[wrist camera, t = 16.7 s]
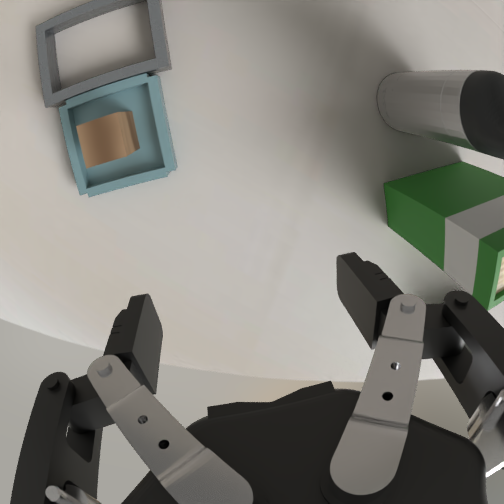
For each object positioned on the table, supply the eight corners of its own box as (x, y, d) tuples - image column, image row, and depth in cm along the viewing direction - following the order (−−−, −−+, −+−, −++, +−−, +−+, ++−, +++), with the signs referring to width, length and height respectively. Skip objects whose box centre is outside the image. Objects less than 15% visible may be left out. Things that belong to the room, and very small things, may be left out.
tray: (159, 72, 33) (155, 70, 31) (178, 170, 39) (176, 174, 37) (65, 103, 33) (57, 103, 30) (87, 194, 39) (81, 199, 36)
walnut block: (132, 111, 34) (117, 112, 28) (140, 148, 36) (127, 156, 30) (96, 122, 34) (76, 126, 28) (105, 158, 36) (86, 168, 30)
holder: (159, -12, 28) (156, -19, 25) (171, 69, 33) (169, 65, 31) (45, 30, 27) (35, 26, 24) (55, 106, 32) (45, 107, 30)
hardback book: (462, 161, 44) (570, 209, 23) (463, 199, 47) (561, 258, 26) (383, 183, 44) (498, 252, 23) (388, 226, 47) (487, 310, 26)
